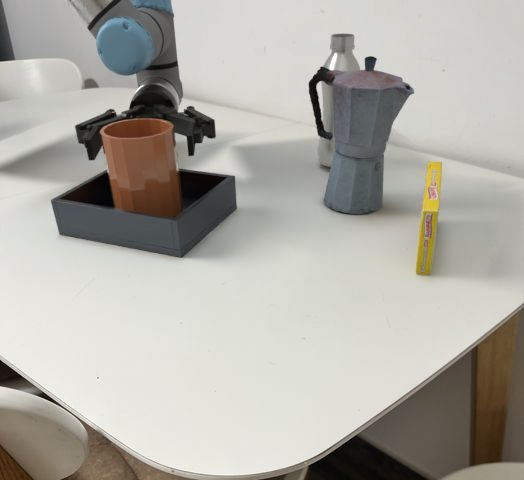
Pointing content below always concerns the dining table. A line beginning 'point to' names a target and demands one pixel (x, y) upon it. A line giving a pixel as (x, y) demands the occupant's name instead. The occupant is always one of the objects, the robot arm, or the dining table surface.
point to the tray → (146, 214)
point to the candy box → (429, 219)
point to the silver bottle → (339, 61)
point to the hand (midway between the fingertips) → (140, 148)
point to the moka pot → (359, 133)
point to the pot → (143, 166)
